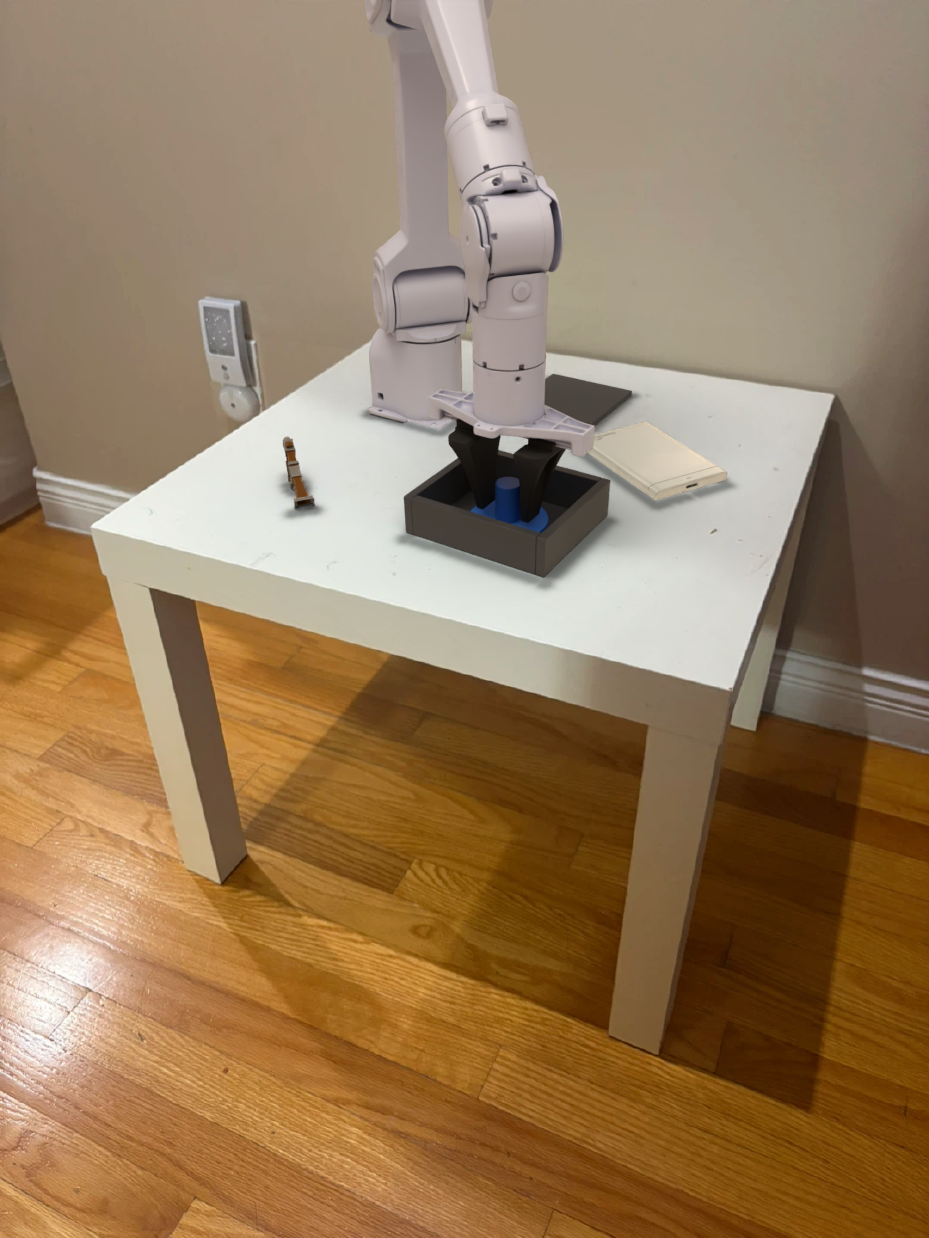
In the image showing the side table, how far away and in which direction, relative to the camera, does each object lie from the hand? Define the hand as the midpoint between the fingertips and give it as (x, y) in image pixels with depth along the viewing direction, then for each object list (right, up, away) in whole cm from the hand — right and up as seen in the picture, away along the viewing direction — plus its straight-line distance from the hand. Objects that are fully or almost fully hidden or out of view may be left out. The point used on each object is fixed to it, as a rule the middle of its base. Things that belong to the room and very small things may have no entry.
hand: (507, 510), depth 83 cm
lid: (0, -1, +1) cm, 1 cm away
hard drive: (+14, +5, +10) cm, 18 cm away
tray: (0, -2, +1) cm, 2 cm away
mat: (+8, +14, +23) cm, 28 cm away
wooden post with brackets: (-19, +2, +7) cm, 21 cm away
